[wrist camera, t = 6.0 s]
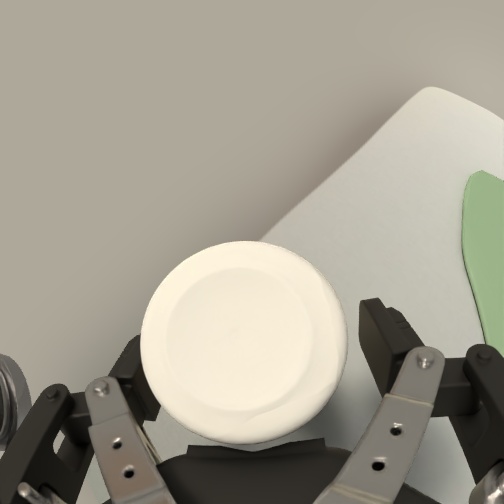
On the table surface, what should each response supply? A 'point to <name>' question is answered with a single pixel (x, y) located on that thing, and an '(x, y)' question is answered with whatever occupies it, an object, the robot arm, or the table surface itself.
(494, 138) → the table surface
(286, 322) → the sprinkles bottle
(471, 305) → the table surface
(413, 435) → the robot arm
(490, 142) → the table surface
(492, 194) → the plant
